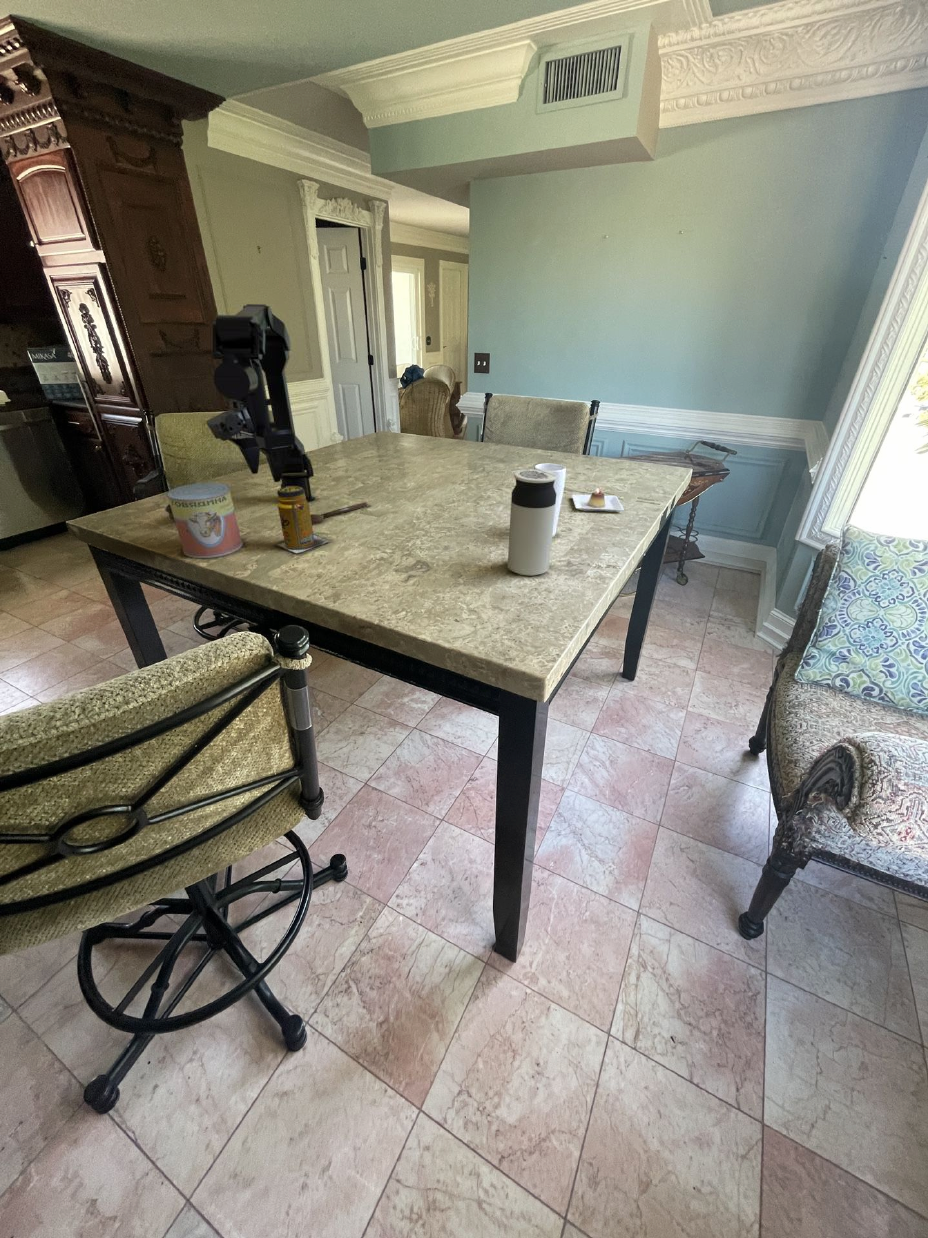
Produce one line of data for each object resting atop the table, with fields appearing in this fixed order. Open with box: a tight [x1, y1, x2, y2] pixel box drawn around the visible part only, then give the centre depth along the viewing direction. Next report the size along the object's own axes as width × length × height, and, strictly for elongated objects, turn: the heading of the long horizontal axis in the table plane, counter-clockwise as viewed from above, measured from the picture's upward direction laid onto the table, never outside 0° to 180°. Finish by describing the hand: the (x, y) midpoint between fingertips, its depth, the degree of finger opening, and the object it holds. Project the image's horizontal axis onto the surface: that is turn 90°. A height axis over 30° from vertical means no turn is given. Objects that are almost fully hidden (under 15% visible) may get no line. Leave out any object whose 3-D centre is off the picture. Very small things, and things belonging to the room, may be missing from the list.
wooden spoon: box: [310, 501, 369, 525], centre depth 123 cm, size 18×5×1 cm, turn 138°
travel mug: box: [507, 469, 557, 577], centre depth 93 cm, size 8×8×18 cm
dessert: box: [571, 487, 625, 513], centre depth 130 cm, size 12×12×5 cm
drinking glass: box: [533, 463, 567, 538], centre depth 109 cm, size 7×7×15 cm
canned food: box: [166, 482, 243, 559], centre depth 101 cm, size 11×11×12 cm
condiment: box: [276, 486, 331, 554], centre depth 104 cm, size 7×8×12 cm
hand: (265, 477), depth 101 cm, fingers open, 9 cm apart
